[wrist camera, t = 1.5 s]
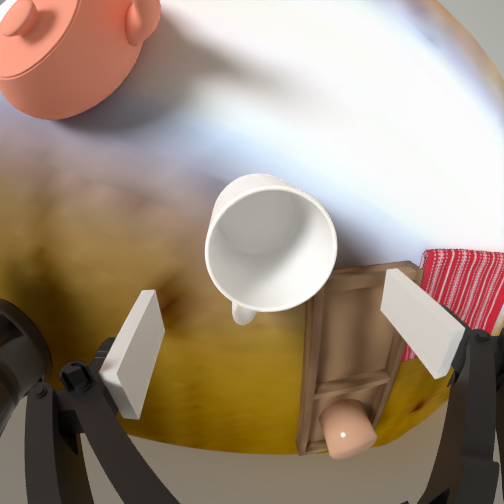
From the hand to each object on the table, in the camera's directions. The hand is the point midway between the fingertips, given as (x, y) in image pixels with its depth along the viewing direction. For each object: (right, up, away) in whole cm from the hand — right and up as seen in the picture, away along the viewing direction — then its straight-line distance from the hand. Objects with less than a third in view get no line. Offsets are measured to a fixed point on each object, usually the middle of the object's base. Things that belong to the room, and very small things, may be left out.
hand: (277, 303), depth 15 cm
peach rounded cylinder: (+12, -22, +22) cm, 33 cm away
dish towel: (+30, -5, +19) cm, 36 cm away
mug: (-1, +4, +12) cm, 13 cm away
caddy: (+12, -14, +20) cm, 27 cm away
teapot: (-18, +23, +4) cm, 29 cm away
